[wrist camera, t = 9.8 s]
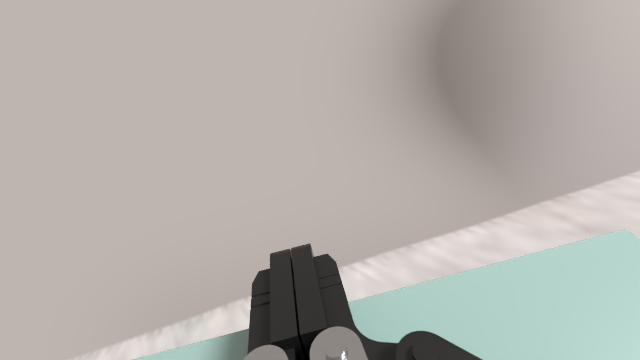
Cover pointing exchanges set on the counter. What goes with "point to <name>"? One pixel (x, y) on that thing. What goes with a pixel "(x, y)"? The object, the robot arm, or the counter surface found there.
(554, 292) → the panel
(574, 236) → the counter surface
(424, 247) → the counter surface
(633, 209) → the counter surface
